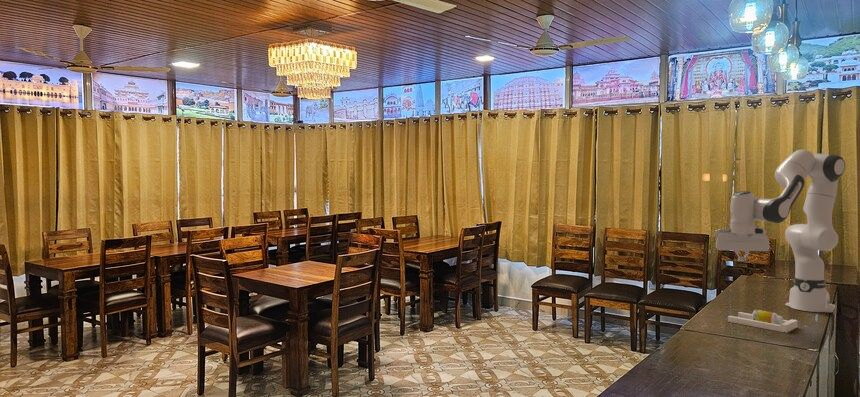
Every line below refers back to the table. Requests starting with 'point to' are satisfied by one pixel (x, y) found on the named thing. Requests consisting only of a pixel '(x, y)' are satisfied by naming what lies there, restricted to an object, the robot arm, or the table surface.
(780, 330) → the u rest
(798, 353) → the table surface
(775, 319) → the supplement bottle
